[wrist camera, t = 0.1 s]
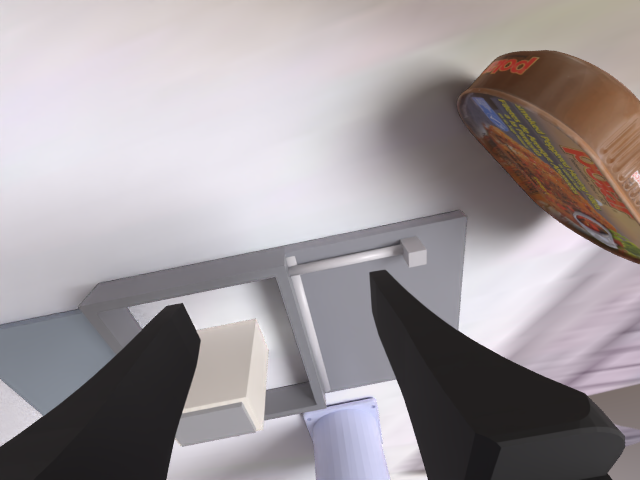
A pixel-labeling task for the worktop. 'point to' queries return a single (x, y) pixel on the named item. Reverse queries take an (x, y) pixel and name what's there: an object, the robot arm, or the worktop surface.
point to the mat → (51, 357)
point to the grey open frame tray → (314, 298)
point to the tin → (564, 141)
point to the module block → (226, 385)
